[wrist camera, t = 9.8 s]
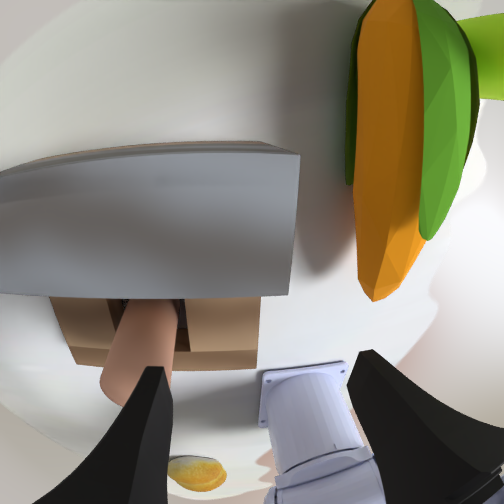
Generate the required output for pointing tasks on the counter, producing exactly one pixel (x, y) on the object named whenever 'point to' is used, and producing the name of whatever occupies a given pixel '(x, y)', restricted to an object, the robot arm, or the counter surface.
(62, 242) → the socket station
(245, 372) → the counter surface
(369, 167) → the corn
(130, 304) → the peg
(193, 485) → the bread roll
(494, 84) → the soap dispenser
